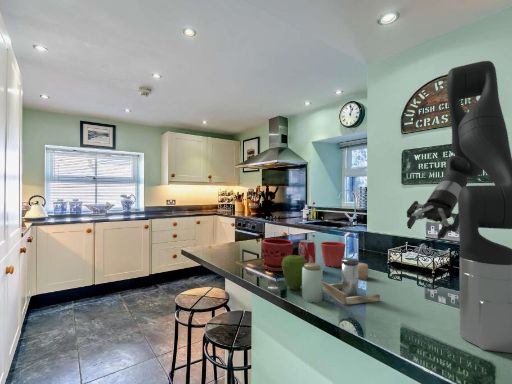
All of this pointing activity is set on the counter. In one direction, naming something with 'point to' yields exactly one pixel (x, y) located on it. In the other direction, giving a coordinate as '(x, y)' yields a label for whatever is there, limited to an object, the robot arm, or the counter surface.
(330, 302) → the counter surface
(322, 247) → the flower pot
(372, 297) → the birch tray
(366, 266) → the terracotta tin
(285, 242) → the plant pot
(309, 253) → the soda can
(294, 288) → the green bell pepper
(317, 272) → the sage jar
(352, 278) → the steel canister
